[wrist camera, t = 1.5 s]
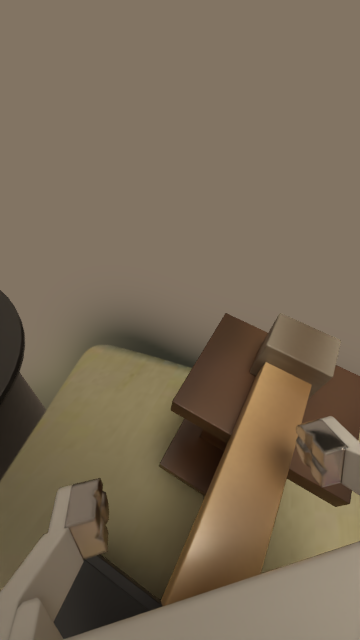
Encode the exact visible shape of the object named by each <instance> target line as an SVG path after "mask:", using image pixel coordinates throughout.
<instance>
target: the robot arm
mask: <svg viewBox="0 0 360 640" xmlns="http://www.w3.org/2000/svg"><path fill="white" fill-rule="evenodd" d="M296 433H297V434H298V438H297V439H296V449H297V453H298V455H299V457H300V459H301V460H302V462H303V463H304V464H305V465H307V466H309V467H311V474H312V476H313V477H314V478H315V480H316V481H317V482H318V484H319V485H320V487H321V488H323V487H327V486H330V485H334V484H338V483H342V484H343V485H344V486H346V487H347V488H349V489H351V490H352V491H354V492H355V493H357V494H358V495H360V442H359V441H358V440H357V439H356V438H355V437H353V436H352V435H351V434H350V433H349V432H348V431H347V430H346V429H345V428H344V427H343V426H342V425H341V424H340V423H339V422H338V421H337V420H336V419H335V418H334V417H332V416H328V417H325V418H321V419H317V420H313V421H310V422H306V423H303V424H299V425H297V427H296ZM102 489H103V484H102V481H101V478H98V479H93V480H89V481H85V482H81V483H77V484H73V485H69V486H65V487H61V488H59V489H58V491H57V494H56V498H55V503H54V507H53V512H52V516H51V521H50V525H49V529H48V533H46V534H43V536H42V537H41V538H40V540H39V541H38V542H37V544H36V545H35V546H34V548H33V549H32V550H31V552H30V553H29V554H28V556H27V557H26V558H25V560H24V561H23V562H22V564H21V565H20V566H19V568H18V569H17V570H16V572H15V573H14V574H13V576H12V577H11V578H10V580H9V581H8V582H7V584H6V585H5V586H4V588H3V589H2V590H1V592H0V640H360V541H359V542H356V543H353V544H350V545H347V546H344V547H341V548H338V549H335V550H332V551H329V552H326V553H323V554H320V555H317V556H314V557H311V558H308V559H304V560H301V561H298V562H295V563H292V564H289V565H286V566H283V567H280V568H277V569H274V570H271V571H268V572H265V573H262V574H259V575H256V576H253V577H250V578H247V579H244V580H241V581H238V582H235V583H232V584H229V585H226V586H223V587H220V588H217V589H214V590H211V591H208V592H205V593H202V594H199V595H196V596H193V597H190V598H187V599H184V600H181V601H178V602H175V603H172V604H169V605H166V606H163V607H160V608H157V609H154V610H151V611H148V612H145V613H142V614H139V615H136V616H133V617H130V618H127V619H124V620H121V621H118V622H115V623H112V624H109V625H105V626H102V627H99V628H96V629H93V630H90V631H87V632H84V633H81V634H78V635H75V636H72V637H69V638H66V639H63V637H62V636H61V634H60V632H59V631H58V629H57V628H56V626H55V624H54V623H53V622H54V620H55V618H56V616H57V614H58V612H59V610H60V608H61V606H62V604H63V602H64V600H65V598H66V596H67V594H68V592H69V590H70V588H71V586H72V584H73V582H74V580H75V578H76V576H77V574H78V572H79V570H80V568H81V566H82V564H83V562H84V561H83V560H85V559H88V558H91V557H94V556H97V555H100V554H103V553H106V552H108V530H107V527H106V524H107V522H108V520H109V505H108V499H107V495H106V492H104V491H102Z"/></svg>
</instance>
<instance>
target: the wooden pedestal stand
mask: <svg viewBox="0 0 360 640" xmlns="http://www.w3.org/2000/svg"><path fill="white" fill-rule="evenodd" d="M267 334H268V333H267V332H265V331H263V330H261V329H259V328H256V327H254V326H252V325H250V324H248V323H246V322H244V321H241V320H240V319H237V318H235V317H233V316H231V315H229V314H227V313H226V314H225V315H224V317H223V318H222V320H221V322H220V323H219V325H218V327H217V328H216V330H215V332H214V333H213V335H212V337H211V338H210V340H209V342H208V343H207V345H206V346H205V348H204V350H203V352H202V353H201V355H200V356H199V358H198V360H197V362H196V363H195V365H194V366H193V368H192V370H191V371H190V373H189V375H188V376H187V378H186V380H185V381H184V383H183V384H182V386H181V388H180V389H179V391H178V393H177V394H176V396H175V398H174V399H173V401H172V406H171V411H173V412H175V413H176V414H178V415H180V416H181V417H183V418H185V419H184V420H183V422H182V424H181V426H180V428H179V430H178V431H177V433H176V435H175V437H174V439H173V440H172V442H171V444H170V446H169V448H168V450H167V451H166V453H165V455H164V457H163V459H162V460H161V462H160V465H159V467H161V468H162V469H164V470H166V471H167V472H169V473H170V474H172V475H173V476H175V477H176V478H178V479H179V480H181V481H183V482H184V483H186V484H187V485H189V486H190V487H192V488H193V489H195V490H196V491H198V492H200V493H201V494H203V495H204V496H205V495H206V493H207V491H208V488H209V486H210V484H211V481H212V479H213V476H214V474H215V472H216V469H217V467H218V465H219V462H220V460H221V458H222V455H223V453H224V451H225V448H226V446H227V443H228V441H229V439H230V436H231V434H232V432H233V429H234V427H235V425H236V422H237V420H238V418H239V415H240V413H241V410H242V408H243V406H244V403H245V401H246V399H247V396H248V394H249V392H250V389H251V387H252V384H253V382H254V380H255V377H256V376H255V375H253V374H251V373H250V370H251V367H252V365H253V363H254V361H255V359H256V356H257V354H258V352H259V350H260V347H261V345H262V343H263V341H264V339H265V338H266V336H267ZM328 416H332V417H334V418H335V419H336V420H337V421H338V422H339V423H340V424H341V425H342V426H343V427H344V428H345V429H346V430H347V431H348V432H349V433H350V434H351V435H352V436H353V437H355V438H356V439H357V440H359V432H360V376H358V375H356V374H354V373H351V372H350V371H347V370H345V369H343V368H341V367H339V366H337V365H336V366H335V370H334V375H333V377H332V378H331V379H330V380H329V381H328V382H327V383H326V384H325V385H324V386H322V387H321V388H320V389H319V390H318V391H317V392H316V393H315V394H313V395H312V396H311V397H310V398H309V399H308V401H307V405H306V409H305V412H304V416H303V420H302V423H301V424H303V423H306V422H310V421H313V420H317V419H321V418H325V417H328ZM287 479H289V480H290V481H292V482H294V483H296V484H297V485H299V486H301V487H302V488H304V489H306V490H307V491H309V492H311V493H313V494H314V495H316V496H318V497H319V498H321V499H323V500H325V501H326V502H328V503H330V504H331V505H333V506H335V507H338V506H343V505H348V504H350V500H351V493H352V490H351V489H349V488H347V487H346V486H344V485H343V484H342V483H338V484H334V485H330V486H327V487H323V488H321V487H320V485H319V484H318V482H317V481H316V480H315V478H314V477H313V476H312V474H311V467H309V466H307V465H305V464H304V463H303V462H302V460H301V459H300V457H299V455H298V453H297V449H296V446H295V449H294V453H293V457H292V460H291V464H290V468H289V471H288V475H287Z"/></svg>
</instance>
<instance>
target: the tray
mask: <svg viewBox="0 0 360 640" xmlns="http://www.w3.org/2000/svg"><path fill="white" fill-rule="evenodd" d="M83 561H84V562H83V564H82V566H81V568H80V570H79V572H78V574H77V576H76V578H75V580H74V582H73V584H72V586H71V588H70V590H69V592H68V594H67V596H66V598H65V600H64V602H63V604H62V606H61V608H60V610H59V612H58V614H57V616H56V618H55V620H54V622H53V623H54V624H55V626H56V628H57V629H58V631H59V632H60V634H61V636H62V637H63V639H66V638H69V637H72V636H75V635H78V634H81V633H84V632H87V631H90V630H93V629H96V628H99V627H102V626H105V625H109V624H112V623H115V622H118V621H121V620H124V619H127V618H130V617H133V616H136V615H139V614H142V613H145V612H148V611H151V610H154V609H157V608H160V607H162V604H161V601H160V600H159V599H158V598H156V597H155V596H154V595H152V594H151V593H150V592H149V591H147V590H146V589H145V588H143V587H142V586H141V585H140V584H138V583H137V582H136V581H134V580H133V579H132V578H130V577H129V576H128V575H127V574H125V573H124V572H123V571H121V570H120V569H119V568H117V567H116V566H115V565H114V564H112V563H111V562H110V561H108V560H107V559H106V558H105V557H103V556H102V555H101V554H100V555H97V556H94V557H91V558H88V559H85V560H83Z"/></svg>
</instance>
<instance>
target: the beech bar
mask: <svg viewBox="0 0 360 640" xmlns="http://www.w3.org/2000/svg"><path fill="white" fill-rule="evenodd" d="M340 343H341V340H339V339H337V338H335V337H333V336H330V335H328V334H326V333H324V332H321V331H319V330H317V329H315V328H312V327H310V326H308V325H306V324H304V323H301V322H299V321H297V320H295V319H293V318H290V317H288V316H286V315H283V314H281V313H280V314H279V316H278V317H277V319H276V321H275V322H274V324H273V326H272V328H271V329H270V331H269V333H268V334H267V336H266V338H265V339H264V341H263V343H262V345H261V347H260V350H259V352H258V354H257V356H256V359H255V361H254V363H253V365H252V367H251V370H250V373H251V374H253V375H255V376H256V377H255V380H254V382H253V384H252V387H251V389H250V392H249V394H248V396H247V399H246V401H245V403H244V406H243V408H242V410H241V413H240V415H239V418H238V420H237V422H236V425H235V427H234V429H233V432H232V434H231V436H230V439H229V441H228V443H227V446H226V448H225V451H224V453H223V455H222V458H221V460H220V462H219V465H218V467H217V469H216V472H215V474H214V476H213V479H212V481H211V484H210V486H209V488H208V491H207V493H206V495H205V498H204V500H203V502H202V505H201V507H200V509H199V512H198V514H197V517H196V519H195V521H194V524H193V526H192V528H191V531H190V533H189V535H188V538H187V540H186V543H185V545H184V547H183V550H182V552H181V554H180V557H179V559H178V561H177V564H176V566H175V568H174V571H173V573H172V576H171V578H170V580H169V583H168V585H167V587H166V590H165V592H164V594H163V597H162V599H161V604H162V607H163V606H166V605H169V604H172V603H175V602H178V601H181V600H184V599H187V598H190V597H193V596H196V595H199V594H202V593H205V592H208V591H211V590H214V589H217V588H220V587H223V586H226V585H229V584H232V583H235V582H238V581H241V580H244V579H247V578H250V577H253V576H256V575H259V574H261V571H262V567H263V564H264V560H265V556H266V553H267V549H268V545H269V542H270V538H271V534H272V530H273V527H274V523H275V519H276V516H277V512H278V508H279V505H280V501H281V497H282V494H283V490H284V486H285V482H286V479H287V475H288V471H289V468H290V464H291V460H292V457H293V453H294V449H295V446H296V439H297V438H298V434H297V433H296V427H297V425H299V424H301V423H302V420H303V416H304V412H305V409H306V405H307V401H308V399H309V398H310V397H311V396H312V395H313V394H315V393H316V392H317V391H318V390H319V389H320V388H321V387H322V386H324V385H325V384H326V383H327V382H328V381H329V380H330V379H331V378H332V377H333V375H334V370H335V366H336V361H337V357H338V352H339V347H340Z"/></svg>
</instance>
